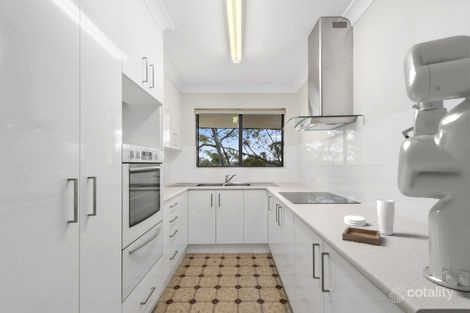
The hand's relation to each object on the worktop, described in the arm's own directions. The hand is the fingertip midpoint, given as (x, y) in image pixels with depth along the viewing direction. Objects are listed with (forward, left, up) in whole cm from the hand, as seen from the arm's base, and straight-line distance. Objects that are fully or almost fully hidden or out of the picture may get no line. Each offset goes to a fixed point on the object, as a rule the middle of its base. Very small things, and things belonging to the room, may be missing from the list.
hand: (430, 152), depth 89 cm
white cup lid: (+27, +29, -36) cm, 53 cm away
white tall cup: (+15, +15, -36) cm, 41 cm away
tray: (+2, +23, -36) cm, 43 cm away
